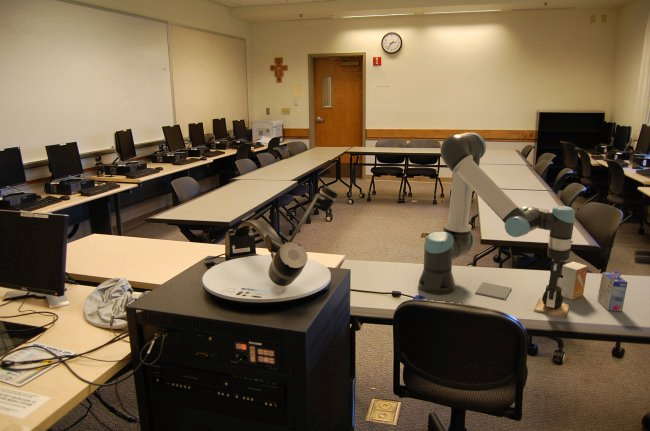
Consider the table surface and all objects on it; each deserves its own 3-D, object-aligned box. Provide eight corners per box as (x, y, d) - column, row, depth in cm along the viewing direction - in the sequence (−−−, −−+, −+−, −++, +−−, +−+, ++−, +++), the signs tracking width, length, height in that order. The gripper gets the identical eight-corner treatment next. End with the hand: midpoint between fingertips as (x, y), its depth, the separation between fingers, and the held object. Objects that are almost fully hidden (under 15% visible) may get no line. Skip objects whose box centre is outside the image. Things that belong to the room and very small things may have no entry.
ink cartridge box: (623, 311, 182) (629, 276, 178) (608, 311, 183) (613, 276, 179) (611, 300, 192) (616, 266, 188) (596, 300, 192) (601, 266, 189)
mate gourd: (566, 307, 185) (569, 283, 181) (554, 313, 181) (557, 289, 178) (548, 300, 190) (551, 277, 187) (537, 305, 186) (539, 282, 183)
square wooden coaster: (534, 310, 184) (534, 309, 184) (538, 300, 193) (538, 298, 193) (565, 317, 178) (565, 315, 178) (569, 306, 187) (569, 304, 187)
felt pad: (475, 293, 200) (475, 292, 200) (482, 283, 210) (482, 282, 209) (505, 299, 194) (505, 298, 193) (511, 289, 203) (511, 287, 203)
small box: (572, 300, 192) (576, 270, 189) (557, 294, 197) (561, 265, 194) (583, 295, 197) (588, 265, 193) (569, 290, 202) (572, 261, 198)
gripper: (566, 259, 167) (559, 315, 173) (574, 239, 187) (567, 289, 193) (543, 256, 171) (536, 310, 176) (552, 236, 191) (547, 286, 197)
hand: (552, 299), depth 185 cm, fingers open, 13 cm apart
